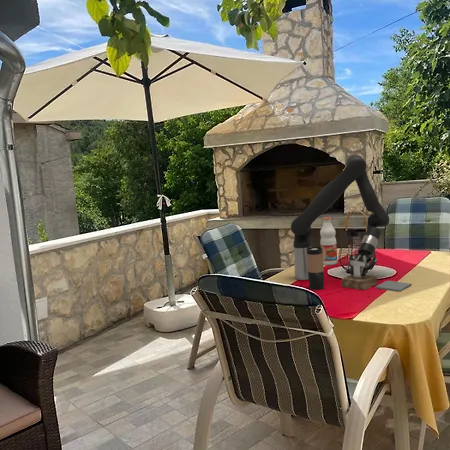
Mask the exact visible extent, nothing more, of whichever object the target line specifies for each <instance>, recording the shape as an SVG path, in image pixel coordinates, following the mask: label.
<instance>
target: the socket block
mask: <svg viewBox="0 0 450 450" xmlns="http://www.w3.org/2000/svg"><path fill="white" fill-rule="evenodd" d="M377 285H378V276H377V275H372V274H370V275H369V274H366V275H365V276H364V278H363V279H355V278H354V274H353V275H351V274H349V275H348V276H345V277H343V278H341V287H342V288H347V289H354V290H362V291H366V290H368V289H369V288H372V287H373V286H377Z"/></svg>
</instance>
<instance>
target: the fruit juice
mask: <svg viewBox="0 0 450 450" xmlns="http://www.w3.org/2000/svg"><path fill="white" fill-rule="evenodd" d="M322 221H323V223H322V227H321V229H320V231H319V233H320V234H319V235H320V243H319V244H320V247H321V248H322V253H323V266H333V265H336V264H338V248H337V247H338V246H337V238H336V233H337V232H336V229H335V228H334V226H333V224H332V217H331V216H330V217H329V216H328V217H327V216H326V217H322Z"/></svg>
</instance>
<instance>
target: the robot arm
mask: <svg viewBox="0 0 450 450" xmlns="http://www.w3.org/2000/svg"><path fill="white" fill-rule="evenodd" d="M345 165H346V166H345V167H344V169H343V170H342V171H341V172H340V174H339V175H338V176H337V177H336V178H334V179H333V180H331V181H330V182H328V183H327V184H326V185H325V186H323V187H322V189H321V190H320V191H318V193H317V194H316V196H314V198H313V199H312V200H311V201H310V203H309V204H308V205H307V207H306V208H305V210H303V211H302V212H301V213H300V214H299V215H298V216H297V217H295V218H294V219H293V220H292V221H291V224H290V230H291V233H292V234H294V237H293V238H294V240H293V244H292V245H293V255H294V256H293V257H294V261H293V265H294V278H295V279H296V280H298V281H309V277H308V264H307V248H309V247H312V226H311V225H312V224H313V223H314V222H315V221H316V220H317V219H318V218H319V217H320V216H321V215H322V214H324V213H326V211H328V209H330V208H331V207H332V206H333V205H334V204H335V202H336V201H338V199H339V198H340V197H341V196H342V195H343V194H344V193H345V191H346V190H347V189H348V188H349V187H350V185H352V184H353V183H354V182H355V183H356V186H357V188H358V191H359V194H360V196H361V197H360V198H361V199H362V202H363V205H364V206H365V207H364V208H365V209H366V210H367V212H370V213H372V214H370V215H369V216H368V217H367V222H366V223H367V224H366V232H365V234H364V237H363V238H362V240H361V242H360V244H359V245H360V246H359V248H358V249H357V253H356V255H353V254H350V256H349V262H348V265H349V267H350V270H349V273H350V274H349V275H353V274H354V268H353V265H350V261H352V260H353V261H363V262H367V266H364V268H363V270H362V273H361V275H362V276H363V277H364V276H365V275H367V273H368V271H369V270H370V271H372V270H373V268H374V267H375V265H376V264H377V262H378V259H377V258H376V256H374V254H375V253H376V252H375V251H376V249H377V246H378V244H379V243H378V242H379V240H380V237H381V234H382V231H381V230H380V229H379V228H380V227H387V226H388V225H390V224H389V223H390V216H389V214H388V212H387V211H386V210H385V209H384V207H383V206H382V205H381V204H380V201H379V199H378V197H377V196H378V195H377V193H376V192H375V190H374V188H373V185H372V183H371V181H370V178H369V177H368V174H367V163H366V161H365V158H364V157H362V155H358V154H352V155H350V156H349V157H348V158H347V160H346V164H345Z"/></svg>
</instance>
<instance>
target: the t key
mask: <svg viewBox="0 0 450 450" xmlns="http://www.w3.org/2000/svg"><path fill="white" fill-rule="evenodd" d="M350 265H353V268H354V278H355V279H363V278H364V277H363V276H362V275H361V273H362V270H363V268H364V266H367V262H363V261H355V260H354V261H353V260H352V261H350ZM350 265H349V266H350Z"/></svg>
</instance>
